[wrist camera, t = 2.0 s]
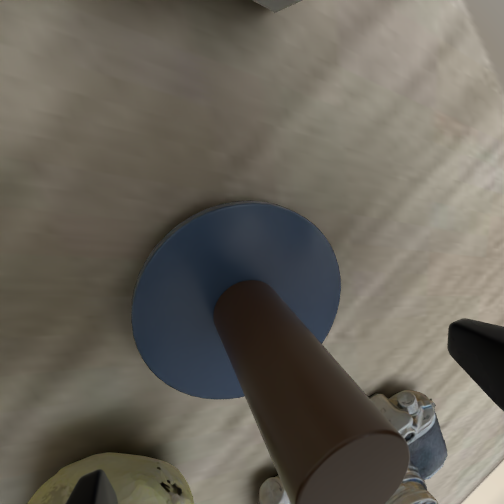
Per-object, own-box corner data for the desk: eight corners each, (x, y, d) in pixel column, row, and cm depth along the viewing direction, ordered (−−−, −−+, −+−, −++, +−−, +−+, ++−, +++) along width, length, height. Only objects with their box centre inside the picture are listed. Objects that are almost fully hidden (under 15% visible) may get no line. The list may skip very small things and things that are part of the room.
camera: (237, 485, 16) (270, 592, 13) (409, 366, 18) (485, 431, 14) (278, 532, 18) (316, 634, 15) (427, 423, 20) (497, 492, 16)
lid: (333, 342, 15) (496, 514, 8) (166, 407, 13) (201, 690, 7) (316, 174, 12) (547, 232, 5) (98, 230, 10) (39, 418, 4)
